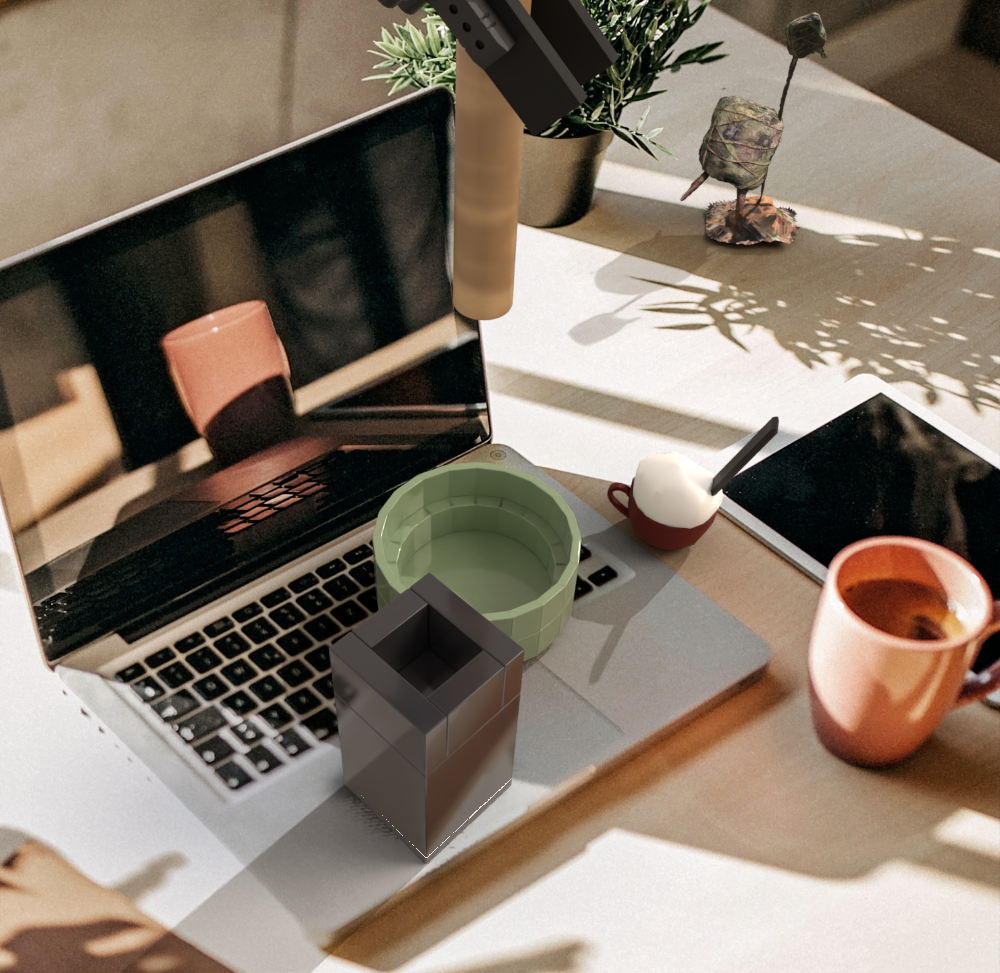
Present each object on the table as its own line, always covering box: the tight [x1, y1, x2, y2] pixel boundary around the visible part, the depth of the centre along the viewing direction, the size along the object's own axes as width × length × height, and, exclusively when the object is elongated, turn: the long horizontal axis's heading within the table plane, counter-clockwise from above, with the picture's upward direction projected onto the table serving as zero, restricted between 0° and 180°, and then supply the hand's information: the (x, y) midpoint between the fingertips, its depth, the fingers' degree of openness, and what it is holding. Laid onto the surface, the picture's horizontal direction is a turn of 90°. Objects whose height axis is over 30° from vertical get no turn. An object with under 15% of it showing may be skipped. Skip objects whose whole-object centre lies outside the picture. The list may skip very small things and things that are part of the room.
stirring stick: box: [452, 0, 531, 321], centre depth 49 cm, size 3×3×22 cm
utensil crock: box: [328, 573, 525, 865], centre depth 63 cm, size 7×7×14 cm
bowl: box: [371, 461, 582, 662], centre depth 75 cm, size 13×13×6 cm
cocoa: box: [606, 415, 780, 551], centre depth 78 cm, size 10×6×12 cm, turn 54°
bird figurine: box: [679, 11, 828, 246], centre depth 101 cm, size 8×11×20 cm
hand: (576, 95), depth 47 cm, fingers closed on stirring stick, 3 cm apart
